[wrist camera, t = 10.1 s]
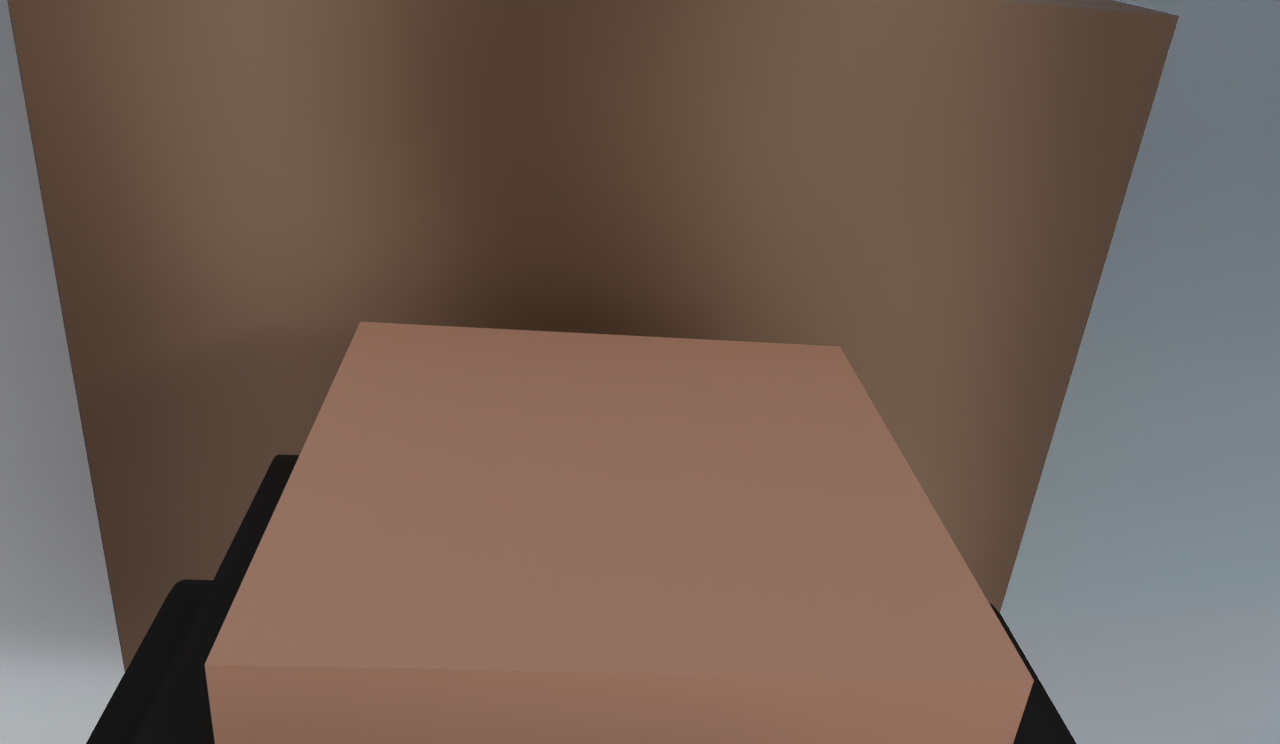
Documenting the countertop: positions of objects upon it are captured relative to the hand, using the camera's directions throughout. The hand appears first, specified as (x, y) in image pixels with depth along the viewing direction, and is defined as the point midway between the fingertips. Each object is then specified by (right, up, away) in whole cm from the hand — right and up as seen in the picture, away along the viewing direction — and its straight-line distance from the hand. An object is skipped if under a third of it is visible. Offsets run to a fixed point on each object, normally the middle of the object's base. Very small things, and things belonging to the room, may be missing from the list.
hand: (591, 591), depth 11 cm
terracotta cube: (0, 0, +1) cm, 1 cm away
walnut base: (0, +3, +6) cm, 6 cm away
